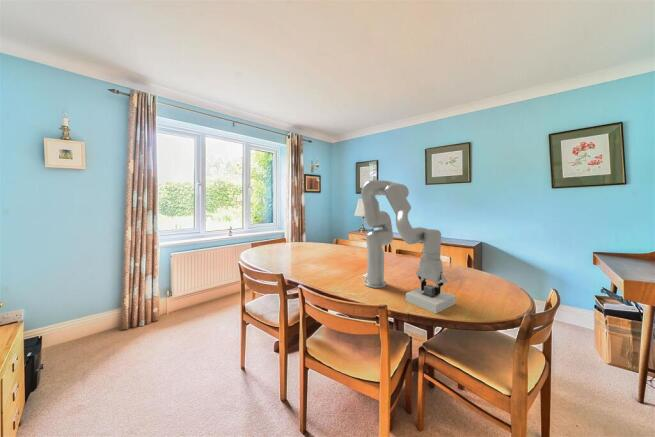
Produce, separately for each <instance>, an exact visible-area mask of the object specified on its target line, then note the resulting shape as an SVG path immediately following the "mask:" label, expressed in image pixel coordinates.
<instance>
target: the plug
mask: <svg viewBox="0 0 655 437" xmlns="http://www.w3.org/2000/svg"><path fill="white" fill-rule="evenodd" d="M435 287H436V285H432V284H426V286H424V295H425V296H428V297H431V298H434V297H436V295H435Z"/></svg>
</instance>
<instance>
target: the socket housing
mask: <svg viewBox="0 0 655 437" xmlns="http://www.w3.org/2000/svg"><path fill="white" fill-rule="evenodd" d="M405 302H408V303H409V304H412V305H415V306H416V307H419V308H422V309H423V310H426V311H429V312H431V313H433V314H439V313H440V312H443V311H444V310H447V309H448V308H450V307H452V306H454V305H456V295H454V294H451V293H447V292H444V291H442V290H440V294H439V295H437V296H436V297H434V298H431V297H428V296H425V295H424V290H423V291H422V290H421V287H419V288H418V287H417V289H416V288H415V289H413V290H411V291H407V292H405Z"/></svg>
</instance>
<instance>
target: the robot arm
mask: <svg viewBox="0 0 655 437" xmlns="http://www.w3.org/2000/svg"><path fill="white" fill-rule="evenodd" d="M360 192H361V194H360V195H361V199H362V203H363V208H364V209H363V210H364V216H365V223H366V226H367V227H368V228H369V229H374V230H372V231H369V232H368V233H367V234H366V236H365V244H366V250H367V253H366V254H367V266H366V267H367V272H366V273H365V274H363V278H365V281H364V285H365V286H367V287H368V288H372V289H373V288H374V289H381V288H385V287H386V286H387V281H386V280H385V251H384V248H383V247H384V246H388V245H390V244H392V242H393V241H394V232H393V224H392V219H391V216H390V214H389V213H388V212H386V211H385V210H381V209H380V204H379V202H378V199H377V197H376V196H385V197H386V199H387V201H388V203H389V205H390V206H391V208H392V210H393V212H394V214H395V226H396V230H397V231H398V233H399V236H400V237H401V238H402V241H403V242H404V243H406V244H407V245H416V244H421V243H422V244H423V246H422V247H423V250H422V251H421V253H420V254H421V255H422V256H421V258H420V261H419V268H418V270H417V271H415V275H416V276H417V277H418V279H419V282H420V288H421V290H422V291H423V290H424V286H426V285H427V281H430V282H433V283H435V284H434V285H435V295H436V296H437V295H439V294H440V291H441V287H443V286H444V285H445V284H446V283H447V282H448V279H447V278H446V276H444V274H443V273H444V272H443V269H444V268H443V261H442V259H441V245H442V232H441V230H439V229H431V228H429V229H428V228H425V227H423V226H422V227H421V226H420V227H412V225H411V222H410V220H409V213H410V211H411V209H412V205H411V204H410V203H409V201H408V199H407V198H408V197H409V194H410V192H409V189H408V187H407V186H406V185H405V184H403V183H399V182H393V181H389V180H382V179H381V180H380V179H373V180H368V181H366V182H365V183H364V184H363V186H362V188H361V191H360Z"/></svg>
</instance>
